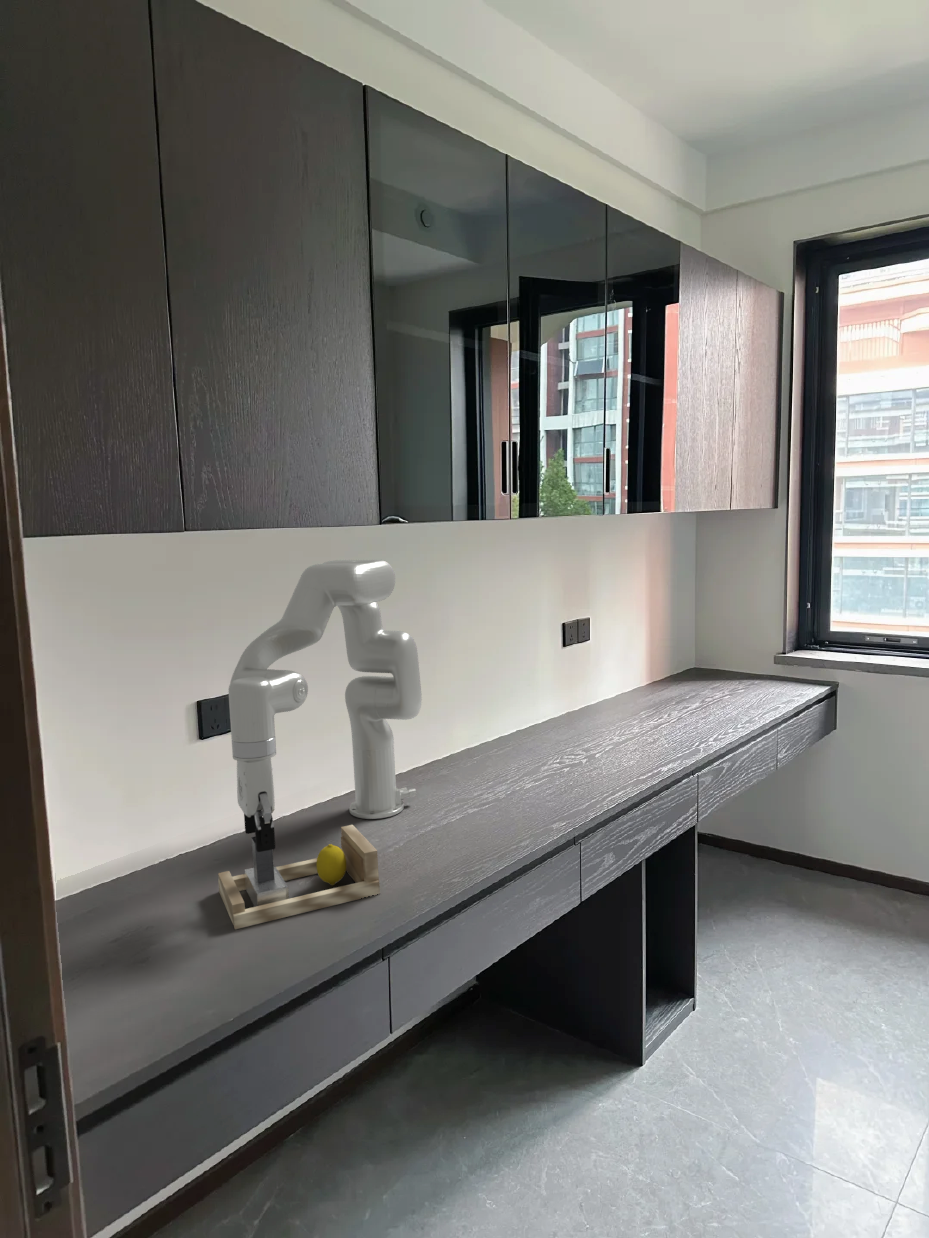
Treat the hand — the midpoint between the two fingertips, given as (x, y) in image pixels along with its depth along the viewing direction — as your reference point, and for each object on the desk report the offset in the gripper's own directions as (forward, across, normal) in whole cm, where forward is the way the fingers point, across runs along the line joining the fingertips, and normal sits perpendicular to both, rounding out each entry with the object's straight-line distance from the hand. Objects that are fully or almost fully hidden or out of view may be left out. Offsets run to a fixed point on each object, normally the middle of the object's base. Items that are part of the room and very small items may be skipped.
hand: (259, 840), depth 151 cm
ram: (+11, 0, +1) cm, 11 cm away
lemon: (+12, 0, +13) cm, 18 cm away
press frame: (+12, 0, +6) cm, 13 cm away
